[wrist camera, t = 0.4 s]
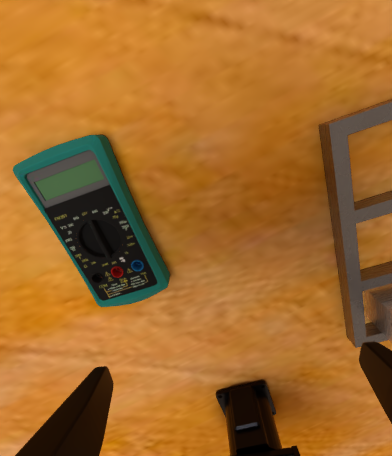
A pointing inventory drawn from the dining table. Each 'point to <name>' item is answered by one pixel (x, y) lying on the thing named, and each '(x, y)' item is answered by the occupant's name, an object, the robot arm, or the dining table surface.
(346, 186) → the rail frame
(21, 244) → the dining table surface
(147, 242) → the digital multimeter
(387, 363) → the robot arm
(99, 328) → the dining table surface
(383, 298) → the grey tall square block
